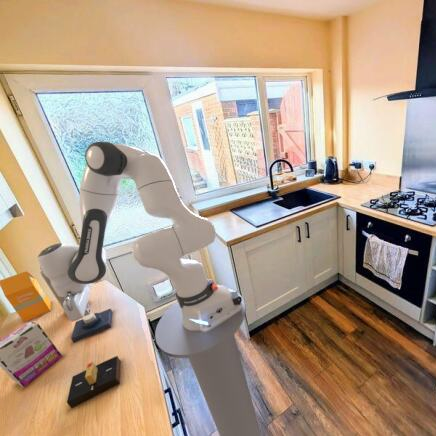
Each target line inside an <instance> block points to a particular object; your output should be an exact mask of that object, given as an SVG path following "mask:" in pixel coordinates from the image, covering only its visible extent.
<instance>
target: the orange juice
mask: <svg viewBox="0 0 436 436" xmlns="http://www.w3.org/2000/svg"><path fill="white" fill-rule="evenodd" d="M0 288H1V290H2V293H3V295H4V297H5V298H6V300H7V301H8V302H9V304H10V305H11V307H12V308H13V309H14V311H15V312H16V313H17V315H18V316H19V317H20V318H21V320H22V321H23V323H26V322H27V321H28V322H29V321H30V320H32V319H35V318H37V317H39V316H42V315H45V314H46V313H49V312H50V311H51V304H52V303H51V300H50V299H49V298H48V295H46V293H45V291H44V290H43V288H42V287H41V285H40V284H39V282H38V281H37V279H36V278H35V277H34V276H33V275H32V274H30V272H28V271H27V270H25V271H23V272H20V273H17V274H15V275H12V276H8V277H6V278H2V279H0Z"/></svg>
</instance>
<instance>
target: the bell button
mask: <svg viewBox="0 0 436 436" xmlns="http://www.w3.org/2000/svg"><path fill="white" fill-rule="evenodd" d="M94 313H95V312H91V313H89V315H87V316H84V317H83V318H82V319H83V320H84V322H85V323H90V322H92V321H93V320H95V319H96V316H95V315H94Z"/></svg>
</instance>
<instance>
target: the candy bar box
mask: <svg viewBox="0 0 436 436" xmlns="http://www.w3.org/2000/svg"><path fill="white" fill-rule="evenodd" d="M62 358H63V354H61V352H60V351H59V349H58V348H57V346H56V345H55V344H54V343H53V342H52V340H51V339H50V337H49V336H48V334H47V333H46V332H45V331H44V329H43V328H42V326H41V325H40V324H39V323H38V322H33V321H30V320H28V322H27V323H26V322H25V324H23V325H22V326H20V327H18V328H17V329H16V330H14V331H11V333H9V334H8V335H5V337H3V338H1V339H0V367H1V369H2V370H3V371H4V372H6V374H7V375H8V376H9V377H10V379H12V380H13V381H14V383H15V384H17V385H19V386H21V387H23V388H26V387H28V386H29V385H30V384H31V383H32V382H34V381H35V380H36V379H38V377H39V376H41V375H42V374H43V373H45V372H46V371H47V370H48V369H50V368H51V367H52V366H54V364H56V363H57V362H58V361H60V359H62Z"/></svg>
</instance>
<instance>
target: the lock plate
mask: <svg viewBox="0 0 436 436" xmlns="http://www.w3.org/2000/svg"><path fill="white" fill-rule="evenodd" d="M95 366H96V367H97V369H98V370H97V377H96V383H93V384H91V385H90V384H89V383H88V381H87V380H86V378H85V375H86V370H87V369H85V370H83V371H81V372H79V373H77V374H75V375H73V376H72V378H71V383H70V386H69V391H68V394H67V399H66V403H67V404H68V406H69V408H70V409H74V408H76V407H78V406H80V405H82V404H83V403H86V402H88V401H89V400H91V399H93V398H95V397H98V396H99V395H101V394H104V393H105V392H107V391H109V390H111V389H113V388H115V387H117V386H119V385H120V384H121V369H122V368H121V367H122V361H121V359H120V357H119V355H115V356H113V357H111V358H109V359H107V360H105V361H103V362H101V363H98V364H95Z"/></svg>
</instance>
